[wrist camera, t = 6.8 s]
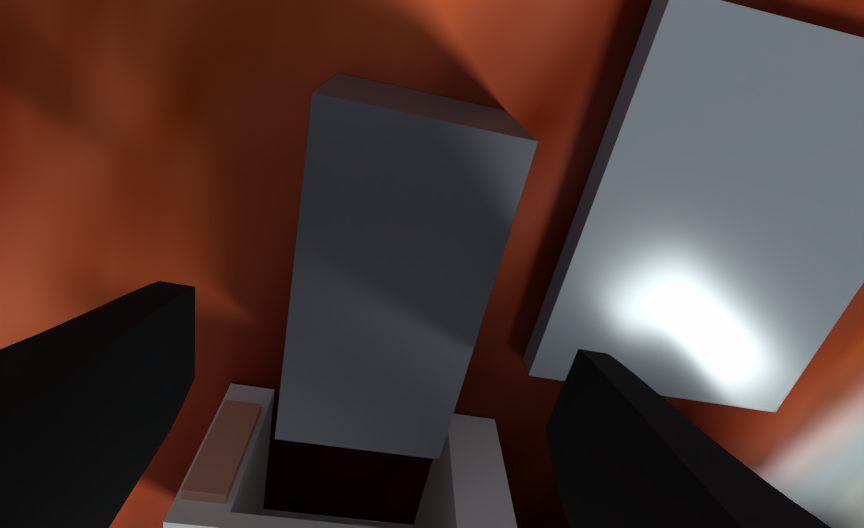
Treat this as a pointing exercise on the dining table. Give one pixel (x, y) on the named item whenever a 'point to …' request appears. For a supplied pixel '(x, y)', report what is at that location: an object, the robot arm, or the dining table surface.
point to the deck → (717, 209)
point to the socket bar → (251, 524)
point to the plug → (394, 262)
